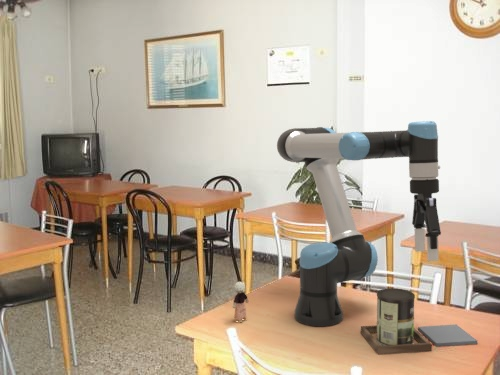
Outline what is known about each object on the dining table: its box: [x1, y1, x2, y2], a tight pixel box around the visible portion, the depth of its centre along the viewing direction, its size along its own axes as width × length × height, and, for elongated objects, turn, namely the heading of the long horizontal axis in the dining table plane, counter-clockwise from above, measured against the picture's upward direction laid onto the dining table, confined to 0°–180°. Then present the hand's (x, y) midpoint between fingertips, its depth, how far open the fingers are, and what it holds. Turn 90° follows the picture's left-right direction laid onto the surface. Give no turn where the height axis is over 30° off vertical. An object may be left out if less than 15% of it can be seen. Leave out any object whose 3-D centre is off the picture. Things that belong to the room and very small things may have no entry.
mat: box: [417, 324, 478, 348], centre depth 156 cm, size 12×12×1 cm
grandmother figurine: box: [232, 281, 249, 323], centre depth 170 cm, size 8×4×13 cm, turn 156°
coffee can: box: [375, 287, 416, 346], centre depth 152 cm, size 10×10×14 cm
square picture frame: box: [360, 324, 433, 355], centre depth 153 cm, size 15×15×2 cm
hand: (426, 255), depth 148 cm, fingers open, 13 cm apart
